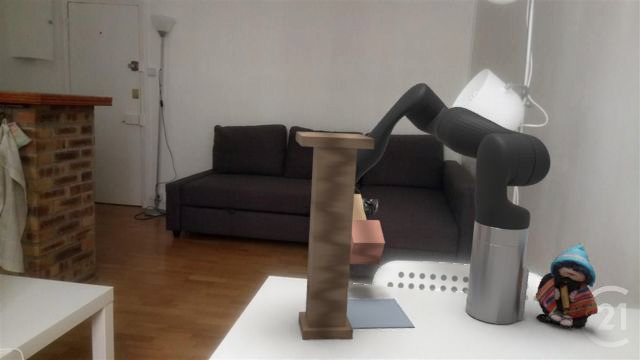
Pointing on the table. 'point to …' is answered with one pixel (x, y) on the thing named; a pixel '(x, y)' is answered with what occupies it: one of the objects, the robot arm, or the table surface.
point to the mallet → (365, 236)
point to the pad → (376, 314)
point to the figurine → (568, 290)
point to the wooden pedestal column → (330, 232)
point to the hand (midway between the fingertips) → (358, 213)
